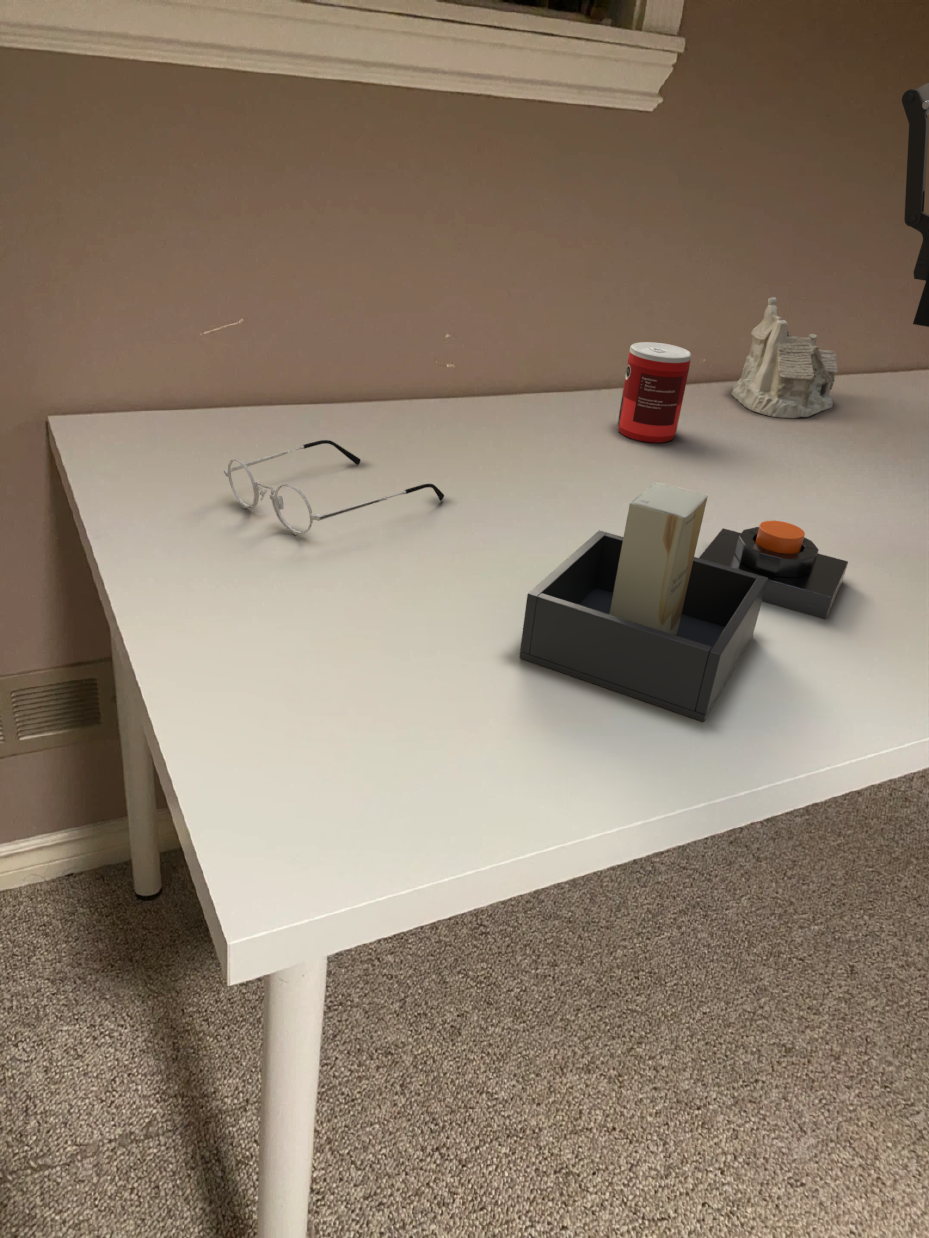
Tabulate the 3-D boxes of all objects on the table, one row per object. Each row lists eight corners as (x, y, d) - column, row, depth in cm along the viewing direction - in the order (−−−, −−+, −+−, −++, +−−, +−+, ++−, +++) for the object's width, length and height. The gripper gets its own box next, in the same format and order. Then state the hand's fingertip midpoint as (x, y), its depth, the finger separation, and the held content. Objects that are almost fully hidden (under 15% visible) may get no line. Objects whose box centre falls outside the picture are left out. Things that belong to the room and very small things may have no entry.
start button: (803, 545, 87) (808, 528, 86) (795, 560, 84) (800, 542, 83) (760, 534, 89) (765, 516, 88) (750, 548, 86) (755, 530, 85)
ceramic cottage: (745, 412, 136) (777, 305, 130) (722, 386, 151) (748, 289, 144) (851, 429, 137) (887, 324, 130) (817, 401, 152) (848, 305, 145)
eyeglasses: (210, 497, 95) (208, 449, 92) (351, 460, 107) (352, 417, 105) (313, 552, 86) (313, 501, 83) (454, 504, 98) (457, 459, 96)
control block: (842, 582, 89) (854, 543, 87) (825, 619, 82) (838, 579, 80) (717, 548, 94) (726, 510, 92) (692, 581, 87) (701, 541, 85)
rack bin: (752, 637, 78) (768, 577, 76) (703, 722, 67) (720, 655, 64) (589, 587, 84) (599, 529, 81) (518, 657, 73) (527, 593, 70)
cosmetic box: (653, 666, 72) (685, 518, 66) (600, 649, 74) (627, 503, 68) (679, 632, 77) (711, 492, 71) (629, 616, 79) (656, 478, 73)
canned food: (644, 421, 130) (658, 339, 124) (688, 439, 124) (705, 354, 119) (603, 428, 125) (617, 344, 120) (647, 446, 120) (663, 359, 115)
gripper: (1129, -4, 68) (1010, 330, 79) (936, -12, 73) (850, 304, 84) (1138, -18, 62) (1008, 345, 74) (927, -25, 67) (836, 316, 79)
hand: (923, 323), depth 79 cm, fingers closed
